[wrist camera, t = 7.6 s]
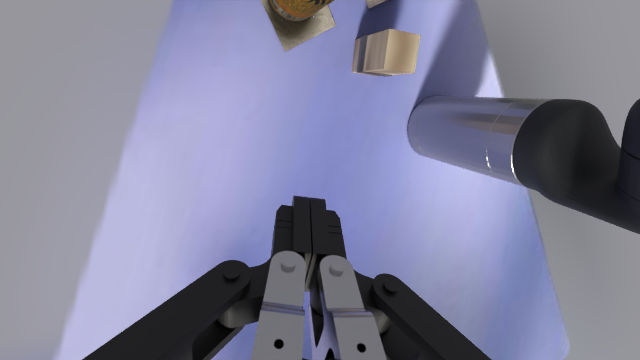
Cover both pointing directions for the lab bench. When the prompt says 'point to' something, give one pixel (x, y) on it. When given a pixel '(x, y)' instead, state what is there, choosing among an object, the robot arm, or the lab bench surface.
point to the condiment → (298, 19)
